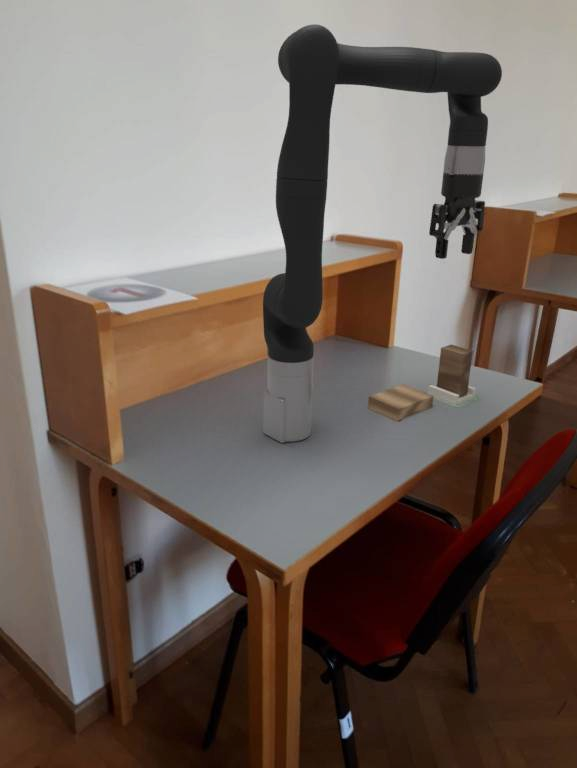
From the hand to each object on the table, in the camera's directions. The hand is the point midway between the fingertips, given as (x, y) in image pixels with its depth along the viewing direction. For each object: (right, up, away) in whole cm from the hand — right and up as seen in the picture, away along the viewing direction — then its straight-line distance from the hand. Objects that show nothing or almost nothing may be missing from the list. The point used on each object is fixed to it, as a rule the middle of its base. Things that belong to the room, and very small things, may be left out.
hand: (453, 255), depth 129 cm
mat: (+6, -29, +24) cm, 39 cm away
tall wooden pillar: (+6, -28, +24) cm, 37 cm away
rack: (+6, -29, +24) cm, 38 cm away
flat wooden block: (-8, -31, +18) cm, 37 cm away
